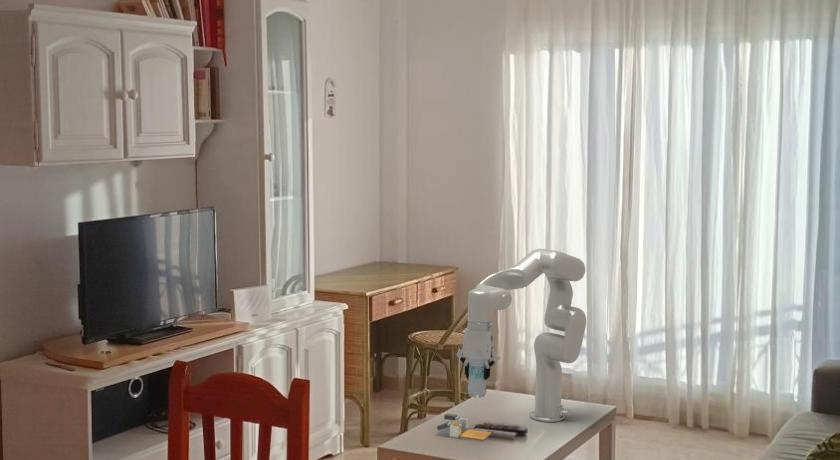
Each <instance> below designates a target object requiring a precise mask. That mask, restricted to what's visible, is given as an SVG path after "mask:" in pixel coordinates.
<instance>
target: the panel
mask: <svg viewBox="0 0 840 460" xmlns="http://www.w3.org/2000/svg"><path fill="white" fill-rule="evenodd" d="M469 427H470V418H469V417H464V416H460V418H459V419H457V422H455V421H454V422H452V424H451V425H450V426H449V427H447V428H444V429H441V430H439V431H438V432H437V433H436V434H435V435H434V437H435V436H436V437H442V438H449V439H454V440H455V439H456V440H464V441H471V442H478V443H483V442H484V441H485V440H487V438H489V437H490V436H491V435H492V434H493V433H491V434H490V435H489V436H488V437H487V438H485V439H484V440H479V439H472V438H464V437H460V436H461V435H462V434H463V433H464V432H465V431H466V430H468V429H469V430H476V431H481V430H482V429H477V428H476V429H475V428H469Z"/></svg>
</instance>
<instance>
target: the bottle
mask: <svg viewBox="0 0 840 460" xmlns="http://www.w3.org/2000/svg"><path fill="white" fill-rule="evenodd" d="M468 362H469V377H468V382H467V392H468V396H469V397H471V398H474V399H476V398H477V396H478V398H479V399H481V398H484V397H485V396H486V394H487V380H485V379H484V369H485V368H486V366H485V360H484V359H483V356H482V353H481V350H478V349H471V351H470V354H469V357H468Z"/></svg>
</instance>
